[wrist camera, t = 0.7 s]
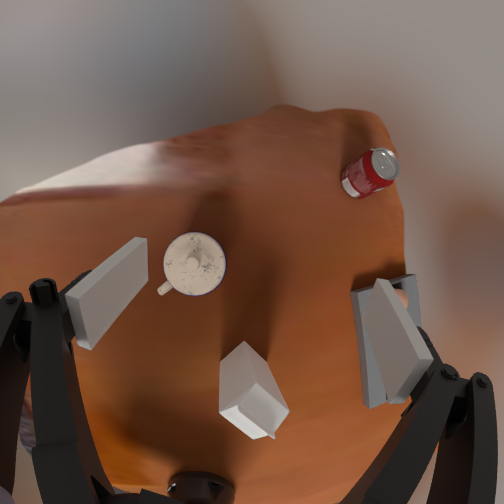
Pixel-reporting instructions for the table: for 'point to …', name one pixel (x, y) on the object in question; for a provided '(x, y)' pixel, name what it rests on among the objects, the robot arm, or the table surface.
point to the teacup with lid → (193, 264)
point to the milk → (250, 393)
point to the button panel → (368, 364)
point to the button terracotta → (402, 296)
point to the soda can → (370, 173)
